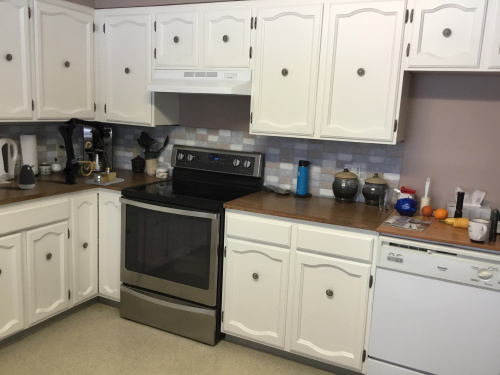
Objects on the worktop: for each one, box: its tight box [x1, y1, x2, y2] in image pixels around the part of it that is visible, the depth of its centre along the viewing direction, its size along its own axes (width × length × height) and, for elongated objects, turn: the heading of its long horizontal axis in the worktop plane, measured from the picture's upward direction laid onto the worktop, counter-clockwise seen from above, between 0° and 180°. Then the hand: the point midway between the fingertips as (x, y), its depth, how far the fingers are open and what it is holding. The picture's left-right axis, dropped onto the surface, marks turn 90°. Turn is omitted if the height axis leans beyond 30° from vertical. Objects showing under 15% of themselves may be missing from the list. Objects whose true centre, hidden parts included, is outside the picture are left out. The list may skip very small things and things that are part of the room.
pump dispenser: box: [17, 163, 37, 191], centre depth 280 cm, size 10×10×15 cm
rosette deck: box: [84, 171, 125, 186], centre depth 318 cm, size 22×16×6 cm
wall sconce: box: [78, 141, 98, 177], centre depth 337 cm, size 14×10×25 cm
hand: (96, 161), depth 323 cm, fingers open, 9 cm apart
